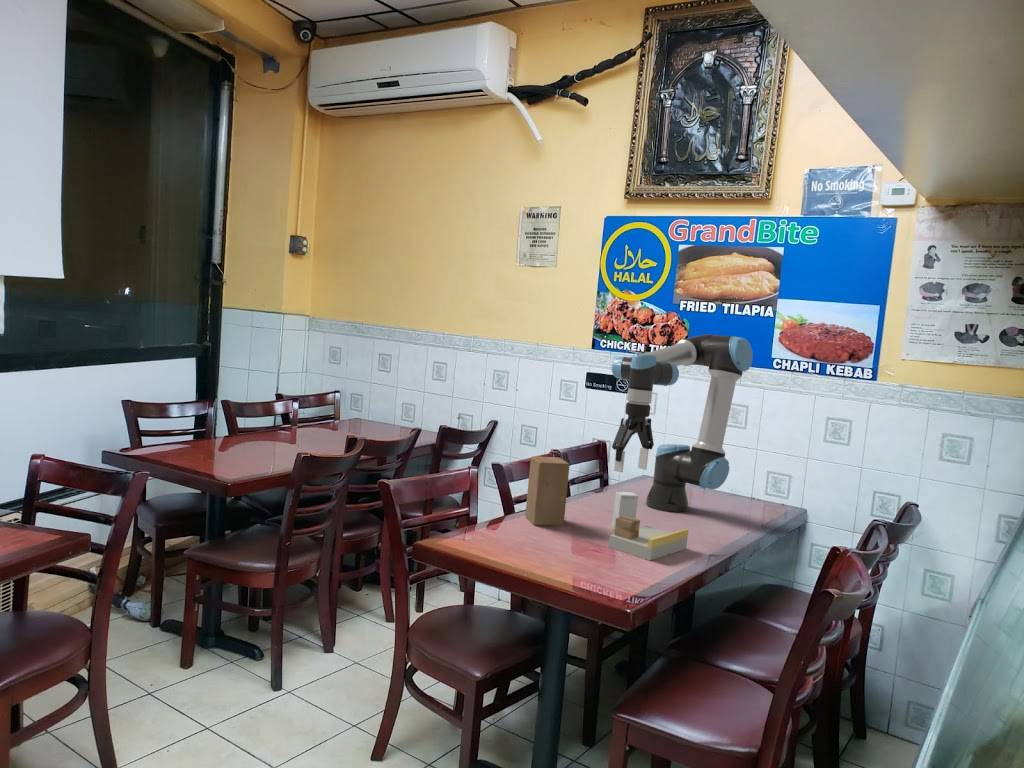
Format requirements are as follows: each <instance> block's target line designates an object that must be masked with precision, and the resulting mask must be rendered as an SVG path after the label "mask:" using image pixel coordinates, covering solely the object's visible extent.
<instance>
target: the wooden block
mask: <svg viewBox="0 0 1024 768" xmlns="http://www.w3.org/2000/svg"><path fill="white" fill-rule="evenodd" d="M528 473H529V475H528V481H527V483H528V484H527V493H526V494H527V495H526V505H525V515H524V517H525V516H526V517H527V518H528V519H529V520H530V521H531V522H532V523H533V524H534V525H533V524H532V523H531V522H530V521H529V520H528V519H527V518H526V517H525V518H526V519H527V520H528V521H529V522H530V523H531V524H532V525H533V526H546V525H550V526H551V525H552V526H554V527H559V526H560V527H561V526H563V527H564V524H565V514H566V506H567V505H566V504H567V496H568V495H567V494H568V485H569V475H570V463H569V462H567V461H566V460H564V459H563V458H561V457H557V456H556V457H555V456H537V455H536V456H531V457H530V463H529V472H528ZM552 526H551V527H552Z"/></svg>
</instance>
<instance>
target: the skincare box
mask: <svg viewBox="0 0 1024 768" xmlns="http://www.w3.org/2000/svg"><path fill="white" fill-rule="evenodd" d="M638 500H639V495H638V494H636V493H635V492H632V491H631V492H629V491H615V497H614V504H613V515H612V523H611V529H612V530H613V531H615V524H616V518H619V517H624V516H628V517H631V518H634V519H636V517H637V516H636V515H637V507H638Z"/></svg>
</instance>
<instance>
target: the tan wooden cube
mask: <svg viewBox="0 0 1024 768" xmlns="http://www.w3.org/2000/svg"><path fill="white" fill-rule="evenodd" d="M640 524H641V519H638V518H635V519H634V518H631V517H628V516H624V517H619V518H616V524H615V530H614V535H616V536H619V537H622V538H625V539H633V538H636V537H638V535H639V528H640V526H641V525H640Z"/></svg>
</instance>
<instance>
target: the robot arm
mask: <svg viewBox="0 0 1024 768" xmlns="http://www.w3.org/2000/svg"><path fill="white" fill-rule="evenodd" d="M753 357H754V356H753V349H752V347H751V343H750V342H749V341H748V339H746V338H744V337H739V336H734V335H721V334H709V333H707V334H700V335H695V336H692V337H687V338H684V339H680V340H679V341H677V342H676V344H673V345H670V346H666V347H663V348H660V349H655V350H652V351H649V352H645V353H639V352H637V353H636V352H635V353H634V354H632V356H630V357H628V356H617V357H616V358H614V360H613V361H612V364H611V373H612V375H613V377H615V378H616V379H618V380H622V381H628V386H627V387H628V389H627V396H626V400H627V403H626V404H625V411H624V412H625V415H627V418H624V417H622V418H621V420H620V425H619V427H618V430H617V432H616V434H615V438H614V439H613V442H612V445H611V448H612V449H613V450H615V456H614V457H615V458H614V468H613V471H614V472H617V473H618V472H619V473H623V472H624V465H625V464H624V463H625V457H626V456H625V455H626V451H625V449H626V447H627V446H628V443H629V441H630V440H631V438H632V436H635V434H637V436H638V438H639V442H640V444H641V447H640V448H639V454H638V455H639V457H638V463H637V469H641V470H647V468H648V467H647V466H648V458H649V452H650V450H653V447H654V445H655V443H654V437H653V430H652V418H649V417H650V414H651V405H650V404H652V397H653V389H654V385H655V386H664V387H666V386H672V385H674V384H676V383H677V381H678V380H679V377H680V370H679V368H678V367H679V366H684V367H689V366H701V367H702V366H704V367H707V368H708V369H707V370H708V373H709V374H710V380H709V381H710V382H709V385H708V391H707V396H706V400H705V404H704V410H703V414H702V415H703V416H702V419H701V424H700V429H699V434H698V439H697V441H696V443H695V444H693V445H692V446H690V445H688V444H676V443H675V444H674V443H673V444H671V443H670V444H669V443H668V444H660V445H658V447H657V448H656V454H655V462H654V471H653V482H652V486H651V487H650V489H649V492H648V493H647V496H646V500H645V501H646V502H645V504H647V505H646V506H648V507H649V506H650V507H649V508H652V509H654V510H659V511H663V510H664V511H663V512H671V511H673V512H674V513H680V512H681V511H683V512H686V510H687V511H688V510H689V499H688V495H687V490H686V484H689V485H692V486H696V487H699V488H702V489H708V490H717V489H718V488H720V487H721V486H723V484H724V483H725V481H726V480H727V478H728V476H729V473H730V463H729V460H728V459H727V458H726V451H725V450H724V448H723V445H724V441H725V440H724V439H725V436H726V432H727V426H728V421H729V418H730V417H729V416H730V411H731V407H732V403H733V398H734V393H735V389H736V383H737V381H738V380H740V379H741V378H742V376H743V373H744V372H747V371H748V370H750V368H751V366H752V364H753ZM673 512H672V513H673ZM681 513H682V512H681Z"/></svg>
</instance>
